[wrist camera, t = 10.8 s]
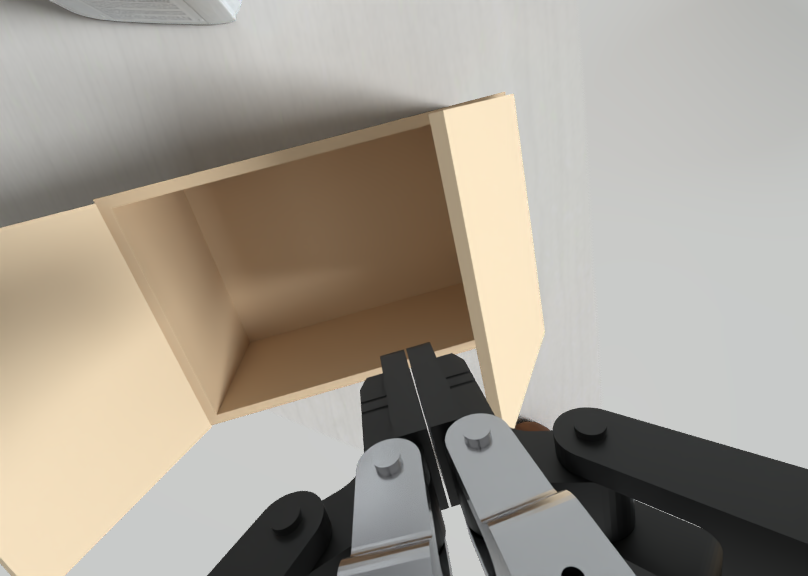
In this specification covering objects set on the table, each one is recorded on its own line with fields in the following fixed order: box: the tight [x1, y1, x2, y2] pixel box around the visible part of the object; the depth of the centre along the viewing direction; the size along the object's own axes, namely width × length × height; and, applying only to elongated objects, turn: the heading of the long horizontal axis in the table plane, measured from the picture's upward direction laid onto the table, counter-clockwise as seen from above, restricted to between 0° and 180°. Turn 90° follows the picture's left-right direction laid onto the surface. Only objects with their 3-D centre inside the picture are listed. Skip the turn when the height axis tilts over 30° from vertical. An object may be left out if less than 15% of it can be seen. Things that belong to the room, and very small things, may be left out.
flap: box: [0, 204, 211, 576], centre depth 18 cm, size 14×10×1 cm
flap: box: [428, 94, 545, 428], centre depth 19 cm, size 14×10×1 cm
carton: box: [93, 92, 506, 425], centre depth 27 cm, size 14×21×10 cm, turn 104°
